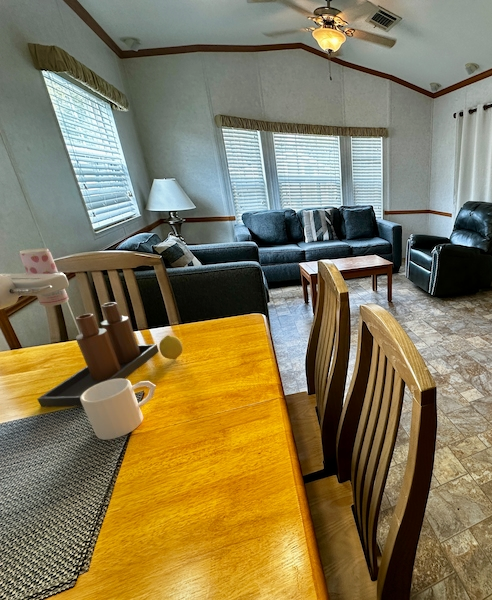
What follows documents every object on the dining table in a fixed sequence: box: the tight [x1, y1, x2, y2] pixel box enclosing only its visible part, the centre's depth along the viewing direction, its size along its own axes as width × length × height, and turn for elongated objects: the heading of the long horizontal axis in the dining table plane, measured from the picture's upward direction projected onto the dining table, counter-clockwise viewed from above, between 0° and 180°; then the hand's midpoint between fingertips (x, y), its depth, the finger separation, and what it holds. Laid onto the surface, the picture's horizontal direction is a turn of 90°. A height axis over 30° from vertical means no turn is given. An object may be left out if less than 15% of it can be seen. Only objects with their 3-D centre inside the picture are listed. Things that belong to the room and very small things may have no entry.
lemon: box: [158, 334, 184, 361], centre depth 96 cm, size 6×6×8 cm
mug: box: [80, 378, 157, 441], centre depth 71 cm, size 8×12×10 cm, turn 131°
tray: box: [36, 343, 160, 408], centre depth 89 cm, size 25×11×2 cm, turn 2°
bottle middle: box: [75, 313, 121, 381], centre depth 86 cm, size 6×6×18 cm
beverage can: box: [19, 247, 69, 307], centre depth 89 cm, size 6×6×15 cm
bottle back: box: [100, 301, 141, 364], centre depth 94 cm, size 6×6×18 cm
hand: (47, 274), depth 90 cm, fingers closed on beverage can, 5 cm apart
